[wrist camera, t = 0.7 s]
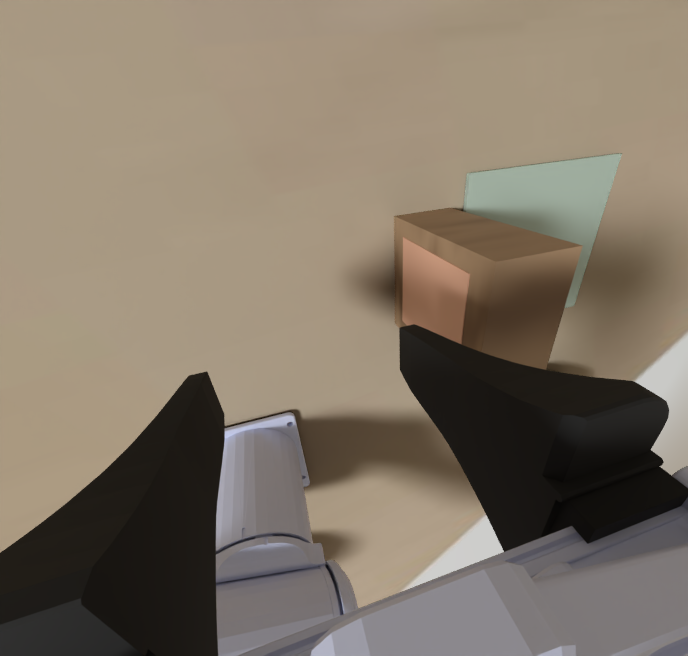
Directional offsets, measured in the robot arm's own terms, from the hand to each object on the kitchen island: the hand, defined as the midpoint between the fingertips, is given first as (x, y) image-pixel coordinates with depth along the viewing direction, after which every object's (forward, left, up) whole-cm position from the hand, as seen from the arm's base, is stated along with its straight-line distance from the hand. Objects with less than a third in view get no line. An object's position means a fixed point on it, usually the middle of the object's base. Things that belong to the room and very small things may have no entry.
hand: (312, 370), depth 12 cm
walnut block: (-1, -10, -10) cm, 14 cm away
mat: (-1, -19, -10) cm, 21 cm away
